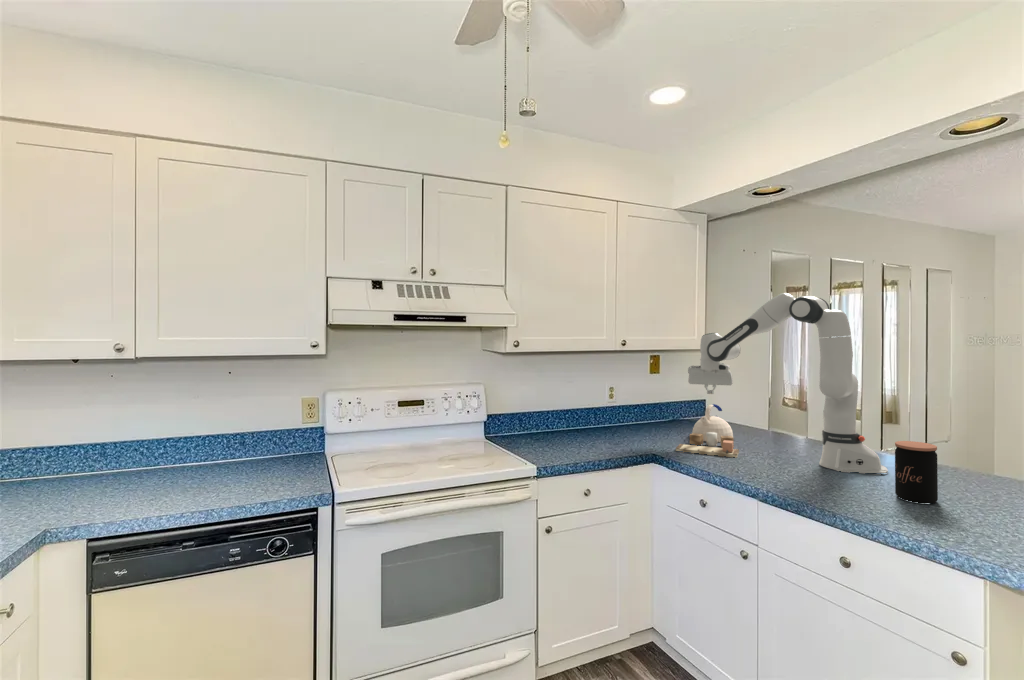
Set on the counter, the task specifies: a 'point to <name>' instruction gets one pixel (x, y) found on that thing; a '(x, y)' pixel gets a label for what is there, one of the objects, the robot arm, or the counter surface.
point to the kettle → (712, 425)
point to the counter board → (707, 450)
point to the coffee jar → (916, 471)
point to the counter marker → (728, 446)
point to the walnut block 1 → (696, 439)
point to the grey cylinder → (711, 439)
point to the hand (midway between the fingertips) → (710, 393)
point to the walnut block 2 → (726, 439)
